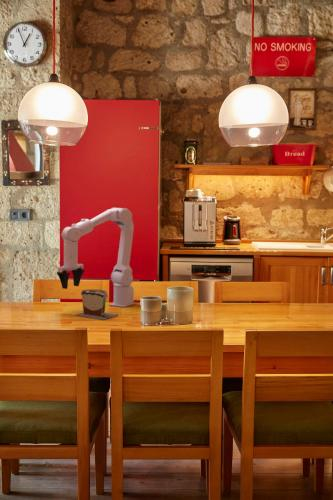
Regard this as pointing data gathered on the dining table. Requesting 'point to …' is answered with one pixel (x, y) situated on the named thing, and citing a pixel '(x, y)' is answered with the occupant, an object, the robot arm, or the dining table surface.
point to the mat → (106, 316)
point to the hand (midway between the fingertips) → (70, 287)
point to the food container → (94, 302)
